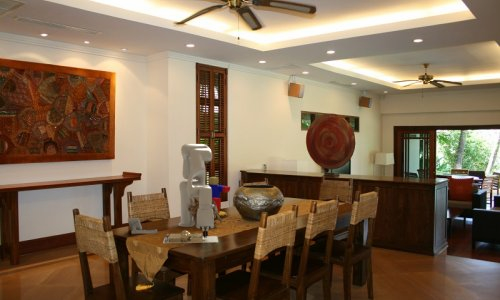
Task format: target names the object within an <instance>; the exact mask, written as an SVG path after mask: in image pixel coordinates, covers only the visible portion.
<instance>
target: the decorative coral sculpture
mask: <svg viewBox="0 0 500 300" xmlns="http://www.w3.org/2000/svg"><path fill="white" fill-rule="evenodd" d="M212 205H214V207H213V208H212V209H213V214H214V222H215V221H216V220H218V221H219V222H220V224H222V223H224V220H223V219H221V217H219V213H218V209H217V206H216V204H215V201H213V200H212ZM191 208H193V209H191ZM191 208H190V207H189V208H188V211H189V212H190V211H192V212H193V213H192V216H194V218H193V220H194V222H195V224H194V226H193V228H196V226H197V211H198V209H199V200H197V198H194V206H191ZM217 227H218V226H217V225H215V224H214V229H216V228H217ZM205 228H207V226H204V229H205Z"/></svg>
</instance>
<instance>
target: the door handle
mask: <svg viewBox="0 0 500 300" xmlns="http://www.w3.org/2000/svg"><path fill="white" fill-rule="evenodd" d="M127 222H128V224H129V227H130V230H131V235H132V236H133V235H139V234H140V235H141V234H142V235H143V234H145V235H147V234H158V229H151V230H150V229H148V230H146V229H143V227H142V224H141V221H140V218H139V217H133V218H132V217H130V218H127Z"/></svg>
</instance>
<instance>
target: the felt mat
mask: <svg viewBox="0 0 500 300" xmlns="http://www.w3.org/2000/svg"><path fill="white" fill-rule="evenodd" d="M165 239H166V236H165V237H164V238H163V241H162V243H163V244H170V243H169V237H168V239H167V242H166V243H165ZM189 243H190V244H192V243H193V244H194V243H195V244H197V243H219V238H218V236H216V235H212V236H209V235H208V236H207V238H204V236H203V242H191V238H190V239H189V240H188V241H187V242H182V241H181V242H173V243H172V244H189Z"/></svg>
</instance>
